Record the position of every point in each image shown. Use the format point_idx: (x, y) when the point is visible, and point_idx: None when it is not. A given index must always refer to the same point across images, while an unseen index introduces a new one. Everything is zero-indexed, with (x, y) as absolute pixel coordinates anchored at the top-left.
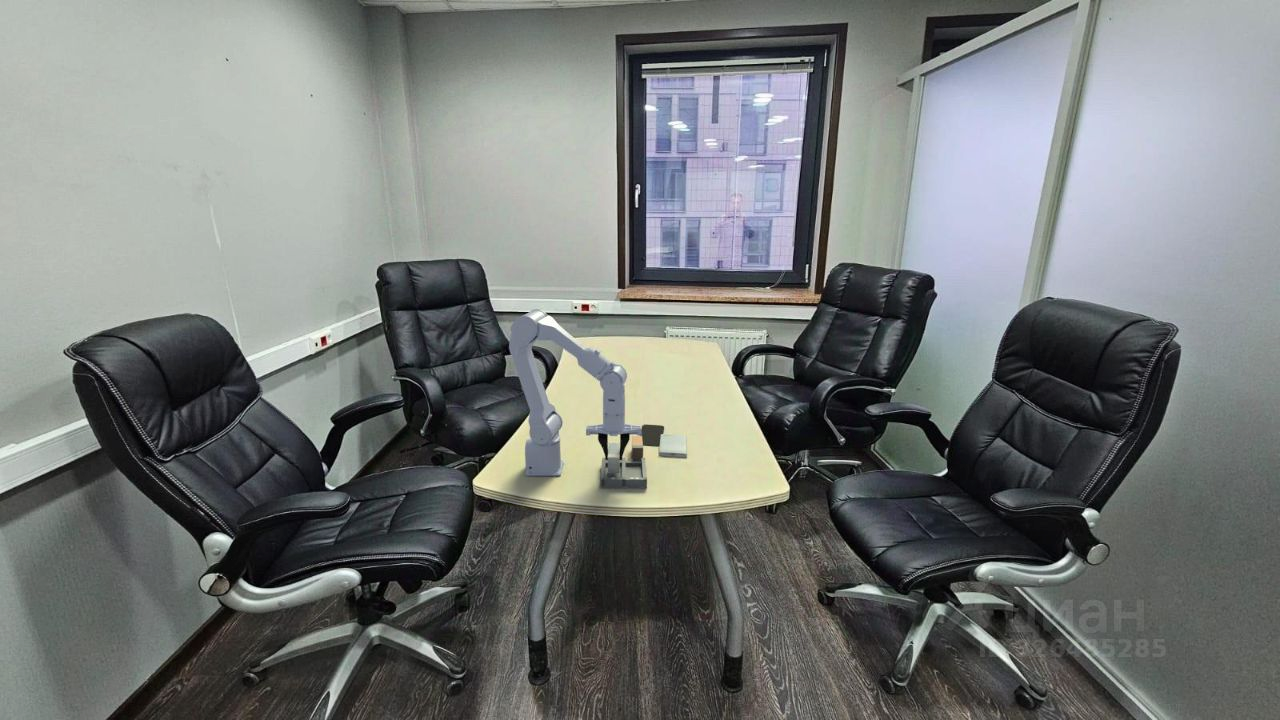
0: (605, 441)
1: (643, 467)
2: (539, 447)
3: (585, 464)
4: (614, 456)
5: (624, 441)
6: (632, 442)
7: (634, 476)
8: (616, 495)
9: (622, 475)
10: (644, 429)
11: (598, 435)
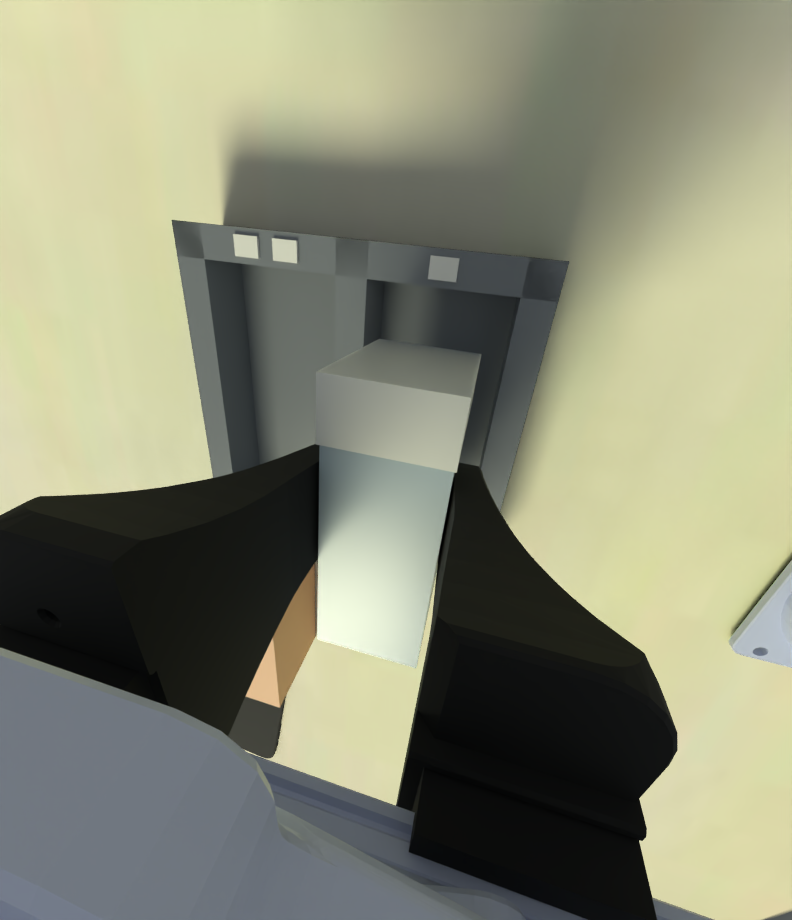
0: (482, 618)
1: (217, 412)
2: None
3: (583, 584)
4: (378, 407)
5: (87, 512)
6: (273, 656)
7: (297, 375)
8: (447, 111)
9: (360, 314)
10: (264, 734)
11: (634, 858)
